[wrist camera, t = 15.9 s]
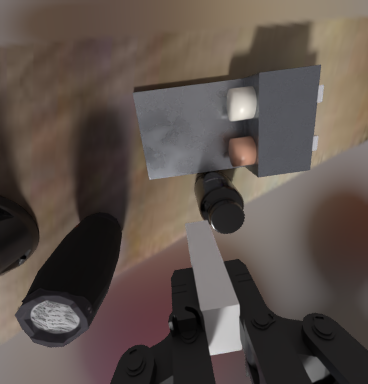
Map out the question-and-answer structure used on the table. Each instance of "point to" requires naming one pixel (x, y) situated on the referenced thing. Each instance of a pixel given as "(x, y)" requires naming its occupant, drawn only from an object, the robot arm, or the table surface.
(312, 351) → the robot arm
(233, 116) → the knob cream
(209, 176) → the supplement bottle
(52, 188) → the table surface
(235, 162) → the knob terracotta
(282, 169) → the mount
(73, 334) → the portable speaker
